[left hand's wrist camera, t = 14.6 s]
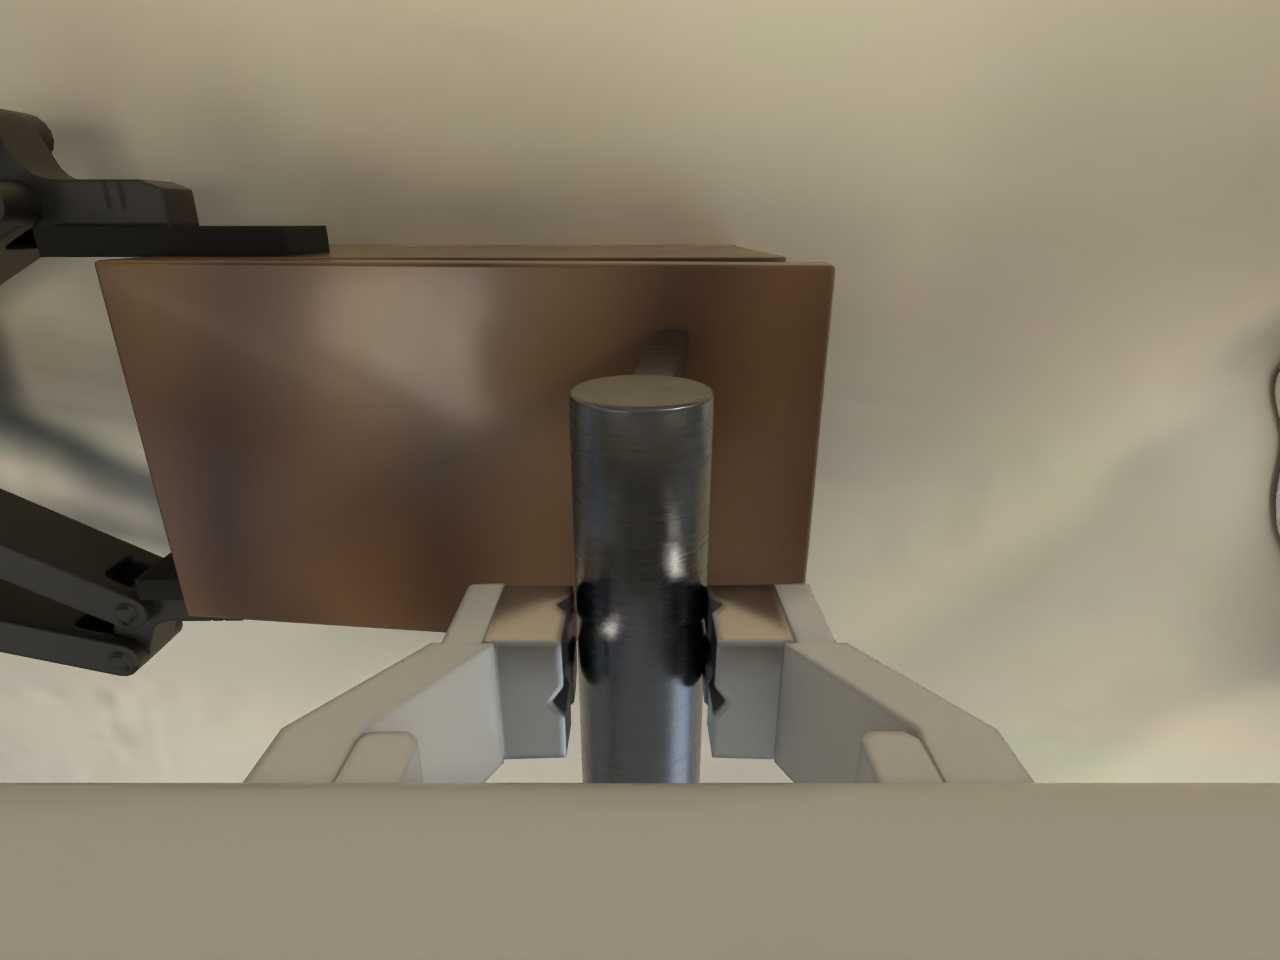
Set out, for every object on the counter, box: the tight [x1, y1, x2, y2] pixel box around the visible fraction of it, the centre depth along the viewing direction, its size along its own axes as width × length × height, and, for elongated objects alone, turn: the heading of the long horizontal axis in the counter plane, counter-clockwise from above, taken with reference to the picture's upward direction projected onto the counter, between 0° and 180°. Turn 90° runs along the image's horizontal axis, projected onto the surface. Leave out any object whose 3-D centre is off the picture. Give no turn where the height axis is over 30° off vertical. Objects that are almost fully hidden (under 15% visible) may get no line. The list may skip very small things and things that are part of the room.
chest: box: [136, 245, 786, 262], centre depth 23 cm, size 17×10×9 cm, turn 90°
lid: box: [95, 258, 835, 783], centre depth 14 cm, size 17×10×9 cm, turn 90°
